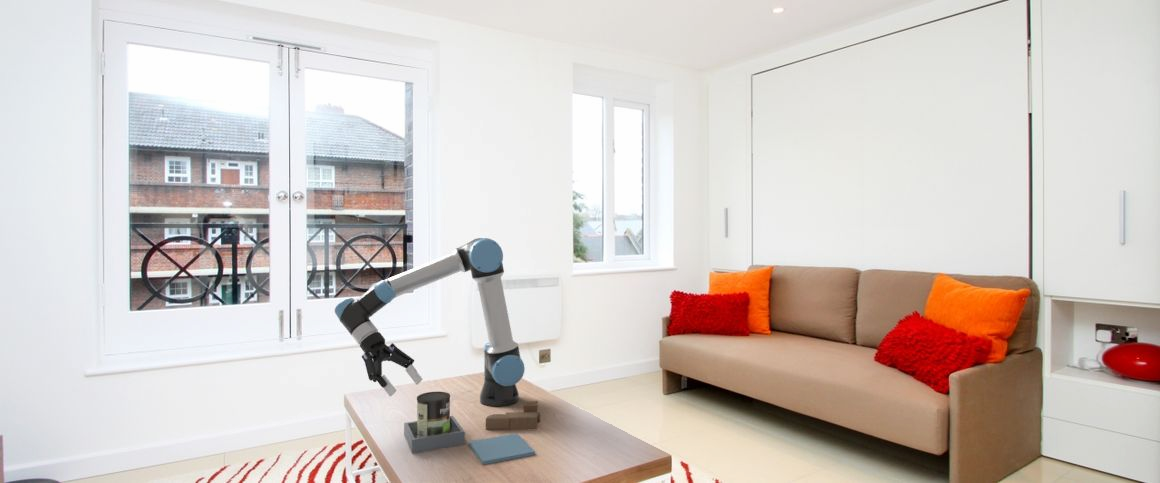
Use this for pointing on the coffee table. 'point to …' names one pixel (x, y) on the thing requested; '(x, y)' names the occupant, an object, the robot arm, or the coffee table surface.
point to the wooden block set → (515, 419)
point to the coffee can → (433, 414)
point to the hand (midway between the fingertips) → (407, 387)
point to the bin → (434, 437)
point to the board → (500, 448)
